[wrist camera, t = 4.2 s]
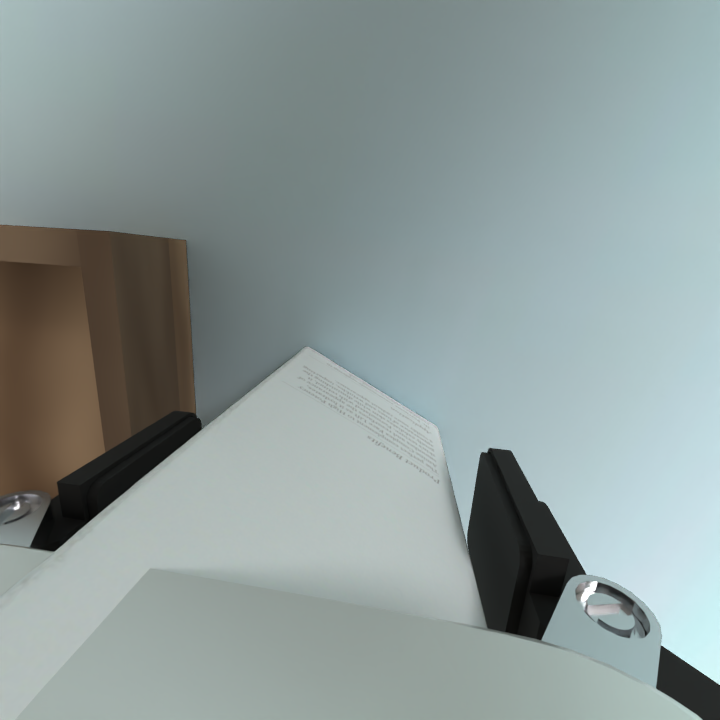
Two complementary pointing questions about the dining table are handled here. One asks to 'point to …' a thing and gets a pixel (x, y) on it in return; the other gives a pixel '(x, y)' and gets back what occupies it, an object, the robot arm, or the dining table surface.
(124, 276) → the walnut tray
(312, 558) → the skincare box
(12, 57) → the dining table surface
